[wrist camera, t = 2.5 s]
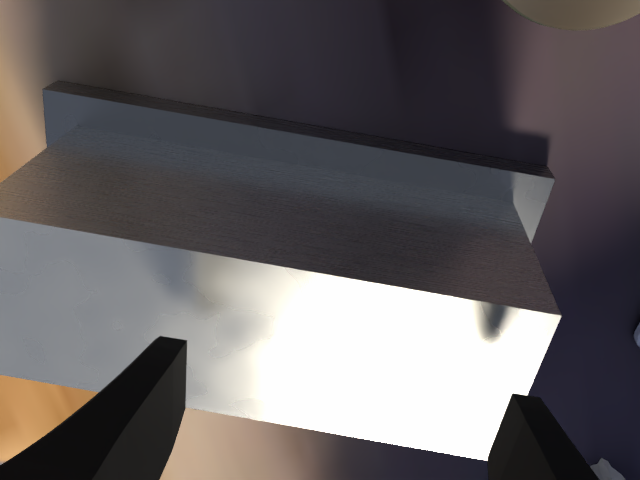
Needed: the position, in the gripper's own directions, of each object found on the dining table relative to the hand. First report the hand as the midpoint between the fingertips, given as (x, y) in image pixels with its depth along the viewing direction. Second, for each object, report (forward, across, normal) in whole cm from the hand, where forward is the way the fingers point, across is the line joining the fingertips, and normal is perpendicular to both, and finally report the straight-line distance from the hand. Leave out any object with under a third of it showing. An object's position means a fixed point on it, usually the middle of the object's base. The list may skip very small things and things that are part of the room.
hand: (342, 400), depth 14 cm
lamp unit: (+9, +2, 0) cm, 9 cm away
